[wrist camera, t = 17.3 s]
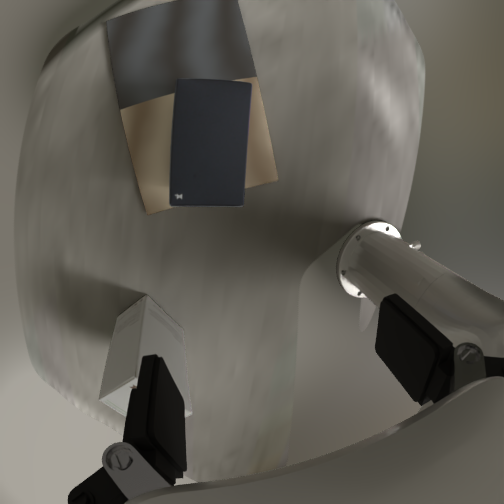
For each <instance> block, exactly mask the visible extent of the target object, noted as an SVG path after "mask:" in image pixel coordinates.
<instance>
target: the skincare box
mask: <svg viewBox="0 0 504 504" xmlns="http://www.w3.org/2000/svg"><path fill="white" fill-rule="evenodd" d="M152 354H157V355H158V357H163V359H164V361H165V363H166V365H167V367H168V369H169V371H170V374H171V376H172V378H173V380H174V382H175V383H176V385H177V387H178V389H179V391H180V393H181V395H182V397H183V399H184V403H185V417H187V416H189V415H192V407H191V399H190V391H189V382H188V373H187V363H186V353H185V341H184V330H183V329H182V328H181V327H180V326H179V325H178V324H177V323H176V322H175V321H174V320H173V319H172V318H171V317H170V316H169V315H167V314H166V313H165V312H164V311H163V310H162V309H161V308H160V307H159V306H158V305H157V304H156V303H155V302H154V301H153V300H152V299H151V298H150V297H149V296H148V295H145V296H144V297H142V298H141V299H140V300H138V301H137V302H136V303H134V304H133V305H132V306H131V307H129V308H128V309H127V310H126V311H124V312H123V313H122V314H120V315H119V316H118V317H117V320H116V324H115V328H114V332H113V336H112V339H111V343H110V348H109V352H108V356H107V361H106V365H105V370H104V374H103V379H102V385H101V390H100V395H99V400H100V401H101V402H103V403H104V404H106V405H107V406H109V407H110V408H112V409H114V410H115V411H117V412H118V413H120V414H122V415H123V416H125V417H126V415H127V409H128V403H129V398H130V393H131V390H132V389H133V388H137V382H138V377H139V371H140V366H141V361H142V357H143V356H146V355H152Z"/></svg>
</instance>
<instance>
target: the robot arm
mask: <svg viewBox="0 0 504 504" xmlns="http://www.w3.org/2000/svg"><path fill="white" fill-rule="evenodd" d="M419 248H420V242H419V241H415V242H412V243H410V244H409V243H407V242H405V241H403V240H402V238H401V236H400V234H399V232H398V231H397V229H396V228H395V227H393V226H392V225H391V224H388V223H386V222H384V221H370V222H367V223H365V224H363V225H361V226H359V227H358V228H357V229H356V230H354V231H353V232H352V233H351V234H350V235H349V236H348V238H347V239H346V241H345V242H344V243H343V246H342V248H341V250H340V252H339V255H338V258H337V265H336V273H337V278H338V281H339V283H340V285H341V286H342V287H343V289H344V290H345V291H346V292H347V293H348V294H350V295H352V296H354V297H358V298H365V297H367V298H368V299H369V300H371V301H372V302H373V303H374V304H375V305H376V306H377V307H378V308H379V309H380V311H379V319H378V328H377V337H376V343H375V350H376V353H377V354H378V356H379V357H380V358H381V359H382V361H383V362H384V363H385V364H386V366H387V367H388V368H389V369H390V371H391V372H392V373H393V375H394V376H395V377H396V378H397V380H398V381H399V382H400V383H401V385H402V386H403V387H404V389H405V390H406V391H407V392H408V394H409V395H410V397H411V398H412V399H413V400H414V401H415V402H417V401H418V403H419V404H420V405H421V406H422V407H421V408H420V410H419V411H418V413H417V414H416V415H414V416H412V417H410V418H408V419H406V420H404V421H403V422H401V423H399V424H397V425H395V426H393V427H391V428H389V429H387V430H384V431H382V432H380V433H378V434H376V435H374V436H372V437H369V438H367V439H364V440H362V441H360V442H357V443H355V444H352V445H350V446H347V447H345V448H342V449H340V450H337V451H334V452H331V453H328V454H326V455H323V456H320V457H317V458H314V459H310V460H307V461H304V462H301V463H297V464H293V465H290V466H286V467H282V468H278V469H274V470H270V471H265V472H261V473H256V474H251V475H246V476H240V477H234V478H229V479H222V480H215V481H208V482H199V483H192V484H184V485H176V486H174V484H175V483H176V478H183V472H184V471H187V461H186V438H185V403H184V399H183V397H182V395H181V393H180V391H179V389H178V387H177V385H176V383H175V382H174V380H173V378H172V376H171V374H170V371H169V369H168V367H167V365H166V363H165V361H164V359H163V357H158V355H157V354H152V355H146V356H143V357H142V361H141V366H140V371H139V377H138V382H137V388H133V389H132V390H131V393H130V398H129V403H128V409H127V415H126V422H125V428H124V435H123V442H118V443H114V444H112V445H110V446H109V447H108V448H107V449H106V450H105V451H104V453H103V456H102V464H103V467H102V468H100V469H99V470H98V471H97V472H95V473H94V474H92V475H91V476H90V477H88V478H87V479H86V480H84V481H83V482H82V483H80V484H79V485H78V486H76V487H75V488H74V489H73V490H72V491H71V492H70V494H69V495H68V504H504V300H502V299H500V298H498V297H496V296H494V295H492V294H490V293H488V292H486V291H484V290H483V289H481V288H479V287H477V286H476V285H474V284H472V283H471V282H469V281H467V280H466V279H464V278H463V277H461V276H459V275H458V274H456V273H454V272H453V271H451V270H449V269H448V268H446V267H445V266H443V265H441V264H439V263H438V262H436V261H434V260H433V259H431V258H429V257H428V256H426V255H425V254H424V253H423V252H422V251H420V252H419V251H417V250H418V249H419Z"/></svg>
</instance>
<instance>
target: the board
mask: <svg viewBox="0 0 504 504" xmlns="http://www.w3.org/2000/svg"><path fill="white" fill-rule="evenodd" d="M106 22H107V32H108V40H109V48H110V55H111V62H112V69H113V75H114V81H115V86H116V92H117V97H118V102H119V107H120V112H121V117H122V121H123V126H124V130H125V135H126V139H127V143H128V147H129V151H130V155H131V159H132V163H133V167H134V171H135V174H136V178H137V182H138V185H139V189H140V192H141V196H142V199H143V202H144V206H145V209H146V212H147V215H151V214H154V213H157V212H160V211H164V210H167V209H170V208H174V207H171V206H170V205H169V172H170V146H171V130H172V117H173V104H174V94H175V84H176V79H178V78H197V79H220V80H232V81H242V82H249V83H252V97H251V109H250V122H249V135H248V149H247V164H246V179H245V188H249V187H253V186H257V185H262V184H266V183H270V182H275V181H278V176H277V170H276V165H275V160H274V155H273V150H272V145H271V140H270V135H269V130H268V125H267V121H266V116H265V111H264V107H263V102H262V98H261V93H260V89H259V84H258V80H257V76H256V71H255V67H254V63H253V59H252V55H251V50H250V46H249V42H248V38H247V34H246V31H245V27H244V23H243V19H242V15H241V11H240V8H239V4H238V0H178V1H173V2H168V3H164V4H160V5H156V6H152V7H148V8H145V9H141V10H138V11H135V12H131V13H128V14H125V15H122V16H119V17H117V18H114V19H111V20H108V21H106Z"/></svg>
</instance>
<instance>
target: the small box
mask: <svg viewBox="0 0 504 504" xmlns="http://www.w3.org/2000/svg"><path fill="white" fill-rule="evenodd" d="M251 97H252V83H249V82H242V81H232V80H220V79H197V78H178V79H176V84H175V94H174V104H173V117H172V130H171V146H170V172H169V205H170V206H171V207H243V206H244V195H245V179H246V164H247V149H248V135H249V122H250V109H251Z"/></svg>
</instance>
